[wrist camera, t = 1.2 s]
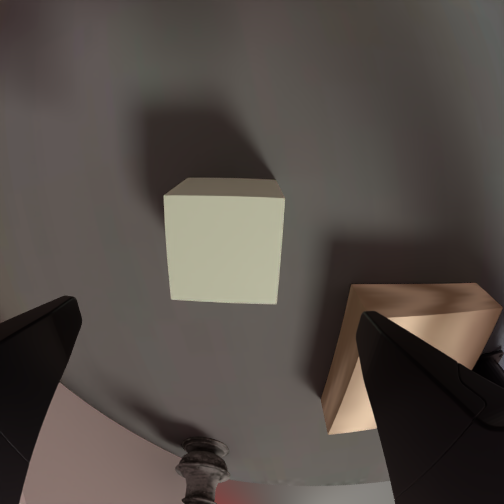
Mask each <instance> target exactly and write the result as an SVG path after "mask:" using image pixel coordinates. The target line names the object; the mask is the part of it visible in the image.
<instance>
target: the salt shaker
mask: <svg viewBox="0 0 504 504" xmlns="http://www.w3.org/2000/svg"><path fill="white" fill-rule="evenodd" d="M182 447H183V449H184V450H185V451H186V452H187V453H188V454H186V455H184V456H183V458H182V459H181V460H180V462H179V464H178V465H177V466H176V467H175V471H176V472H177V473H178V474H179V475H180V476H182V477H184V478H185V479H186V485H187V486H186V493H185V498H183V499H182V502H183V503H184V504H216V503H215V502H214V500H215V489H216V486H217V484H218V483H221V482H224V481H227V480H228V479H229V478H230V473H229V472H228V471H227V470H228V469H227V466H226V464H225V461H224V460H223V459H222V457H224V456H226V455H227V454H228V452H229V449H228V447H227V446H226V445H225V444H223V443H222V442H219V441H217V440H214V439H210V438H201V437H196V438H189V439H186V440H185V441H184V442H183V443H182Z"/></svg>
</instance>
